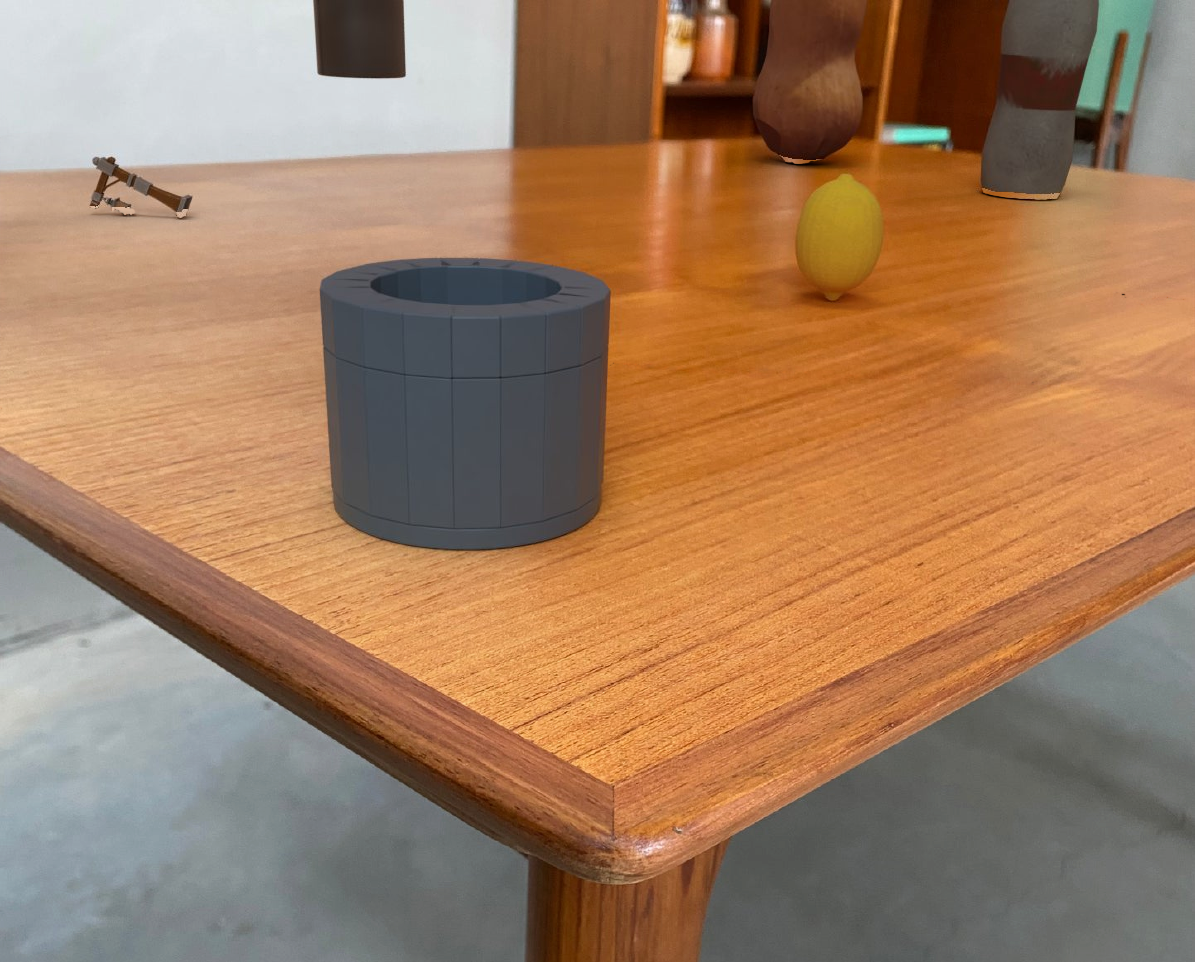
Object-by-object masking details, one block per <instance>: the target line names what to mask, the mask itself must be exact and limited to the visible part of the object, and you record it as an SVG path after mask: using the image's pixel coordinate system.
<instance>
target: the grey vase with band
mask: <svg viewBox="0 0 1195 962" xmlns="http://www.w3.org/2000/svg"><path fill="white" fill-rule="evenodd" d="M1099 8H1100V0H1009V1H1008V4H1007V8H1006V11H1005V15H1004V19H1003V23H1002V27H1001V38H1000V39H1001V41H1000V42H1001V43H1000V57H999V69H998V78H997V79H998V80H997V89H996V101H995V103H996V104H995V107H994V110H993V112H992V113H993V114H992V116H991V120H990V123H989V127H988V130H987V133H986V137H985V139H984V140H985V141H984V144H983V147H982V151H981V160H980V163H981V164H980V186H981V189H982V188H985V189H988V190H991V191H995V192H1014V193H1026V194H1051V193H1052V194H1054V193H1060V192H1061V193H1062V192H1063V189H1064V187H1065V185H1066V182H1067V179H1068V176H1069V172H1070V169H1071V166H1072V162H1073V158H1074V157H1073V156H1074V143H1075V130H1076V129H1075V127H1076V126H1075V125H1076V109H1077V105H1078V101H1079V97H1080V94H1081V90H1082V85H1083V81H1084V78H1085V74H1086V71H1087V67H1088V63H1089V58H1090V55H1091V52H1092V49H1093V46H1094V42H1095V39H1096V35H1097V32H1098V23H1099V21H1098V20H1099V10H1100V9H1099Z"/></svg>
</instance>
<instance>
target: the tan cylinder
mask: <svg viewBox="0 0 1195 962" xmlns="http://www.w3.org/2000/svg"><path fill="white" fill-rule="evenodd" d="M312 3H313V20H314V36H315V37H314V38H315V39H314V40H315V58H316V73H317V75H318V76H322V77H330V78H331V77H332V78H343V79H344V78H345V79H377V80H378V79H379V80H381V79H402V78H406V76H407V71H406V69H407V67H406V65H407V64H406V35H405V32H406V31H405V4H404V3H405V2H404V0H312Z"/></svg>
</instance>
